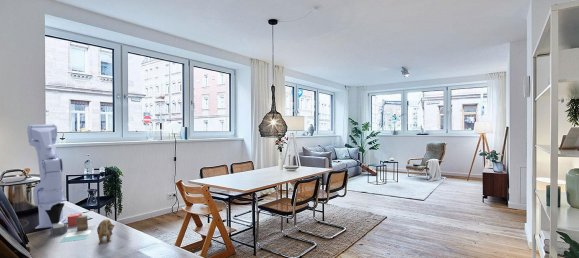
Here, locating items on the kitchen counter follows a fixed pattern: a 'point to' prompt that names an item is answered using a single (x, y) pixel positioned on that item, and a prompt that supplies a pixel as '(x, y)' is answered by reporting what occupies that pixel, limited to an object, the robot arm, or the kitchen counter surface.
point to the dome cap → (58, 225)
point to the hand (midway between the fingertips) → (55, 223)
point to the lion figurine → (105, 230)
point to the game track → (77, 234)
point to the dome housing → (58, 230)
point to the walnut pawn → (82, 223)
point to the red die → (73, 219)
